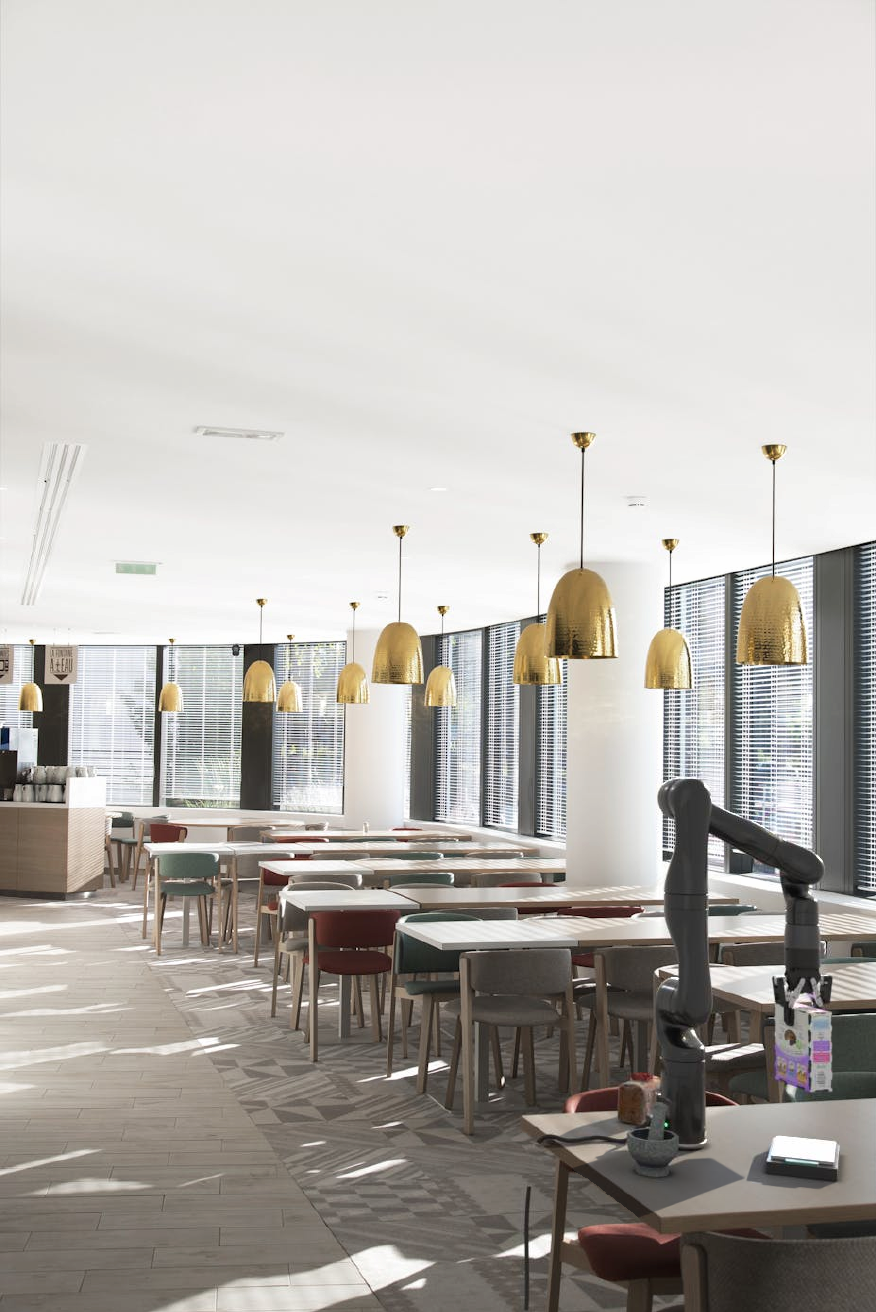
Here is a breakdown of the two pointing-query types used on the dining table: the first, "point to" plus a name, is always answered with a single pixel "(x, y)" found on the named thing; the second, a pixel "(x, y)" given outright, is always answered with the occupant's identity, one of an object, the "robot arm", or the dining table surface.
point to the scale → (804, 1158)
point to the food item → (637, 1098)
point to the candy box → (804, 1048)
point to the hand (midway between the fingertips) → (802, 1024)
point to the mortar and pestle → (653, 1145)
